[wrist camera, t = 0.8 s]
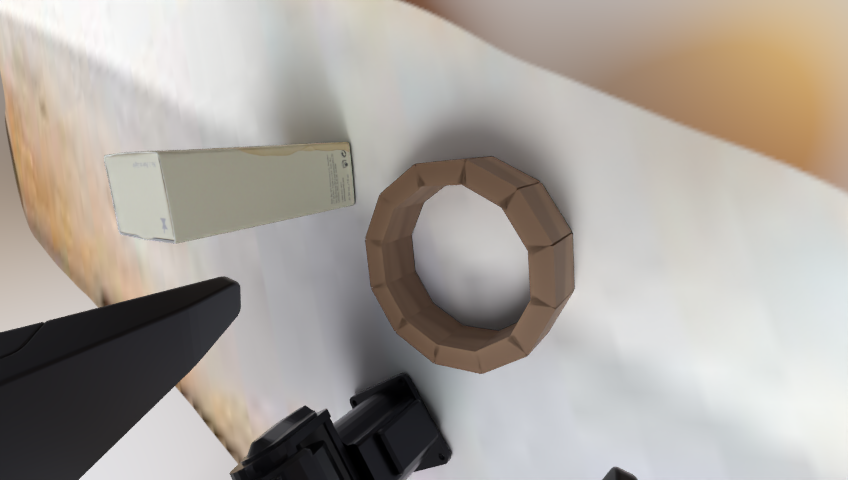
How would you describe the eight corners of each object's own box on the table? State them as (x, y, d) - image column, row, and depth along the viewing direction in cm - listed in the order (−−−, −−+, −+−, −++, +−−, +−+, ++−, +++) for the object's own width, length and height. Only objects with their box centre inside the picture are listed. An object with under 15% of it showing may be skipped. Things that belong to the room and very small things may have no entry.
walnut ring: (455, 371, 28) (429, 394, 26) (370, 221, 30) (338, 229, 27) (617, 304, 22) (603, 326, 19) (499, 115, 23) (472, 113, 21)
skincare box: (352, 141, 29) (160, 147, 19) (357, 208, 30) (176, 246, 20) (288, 144, 33) (98, 151, 23) (295, 204, 33) (115, 235, 24)
